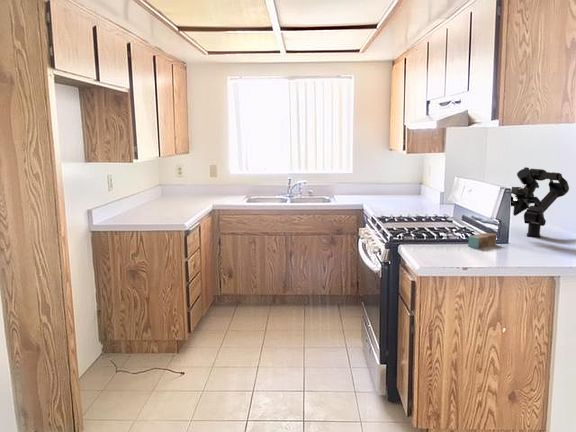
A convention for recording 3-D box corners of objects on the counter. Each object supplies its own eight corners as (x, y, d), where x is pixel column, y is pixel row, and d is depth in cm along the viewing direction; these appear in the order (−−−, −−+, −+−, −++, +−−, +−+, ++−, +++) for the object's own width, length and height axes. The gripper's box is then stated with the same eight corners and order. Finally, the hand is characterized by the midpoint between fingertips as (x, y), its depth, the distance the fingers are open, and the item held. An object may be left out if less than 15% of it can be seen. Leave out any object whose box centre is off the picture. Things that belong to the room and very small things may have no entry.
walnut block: (487, 232, 244) (468, 236, 236) (496, 234, 239) (477, 238, 232) (486, 242, 244) (468, 246, 237) (495, 244, 240) (477, 248, 233)
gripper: (503, 180, 257) (490, 205, 253) (536, 180, 240) (522, 206, 237) (515, 193, 261) (502, 217, 258) (548, 193, 244) (534, 220, 241)
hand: (514, 215), depth 248 cm, fingers closed
